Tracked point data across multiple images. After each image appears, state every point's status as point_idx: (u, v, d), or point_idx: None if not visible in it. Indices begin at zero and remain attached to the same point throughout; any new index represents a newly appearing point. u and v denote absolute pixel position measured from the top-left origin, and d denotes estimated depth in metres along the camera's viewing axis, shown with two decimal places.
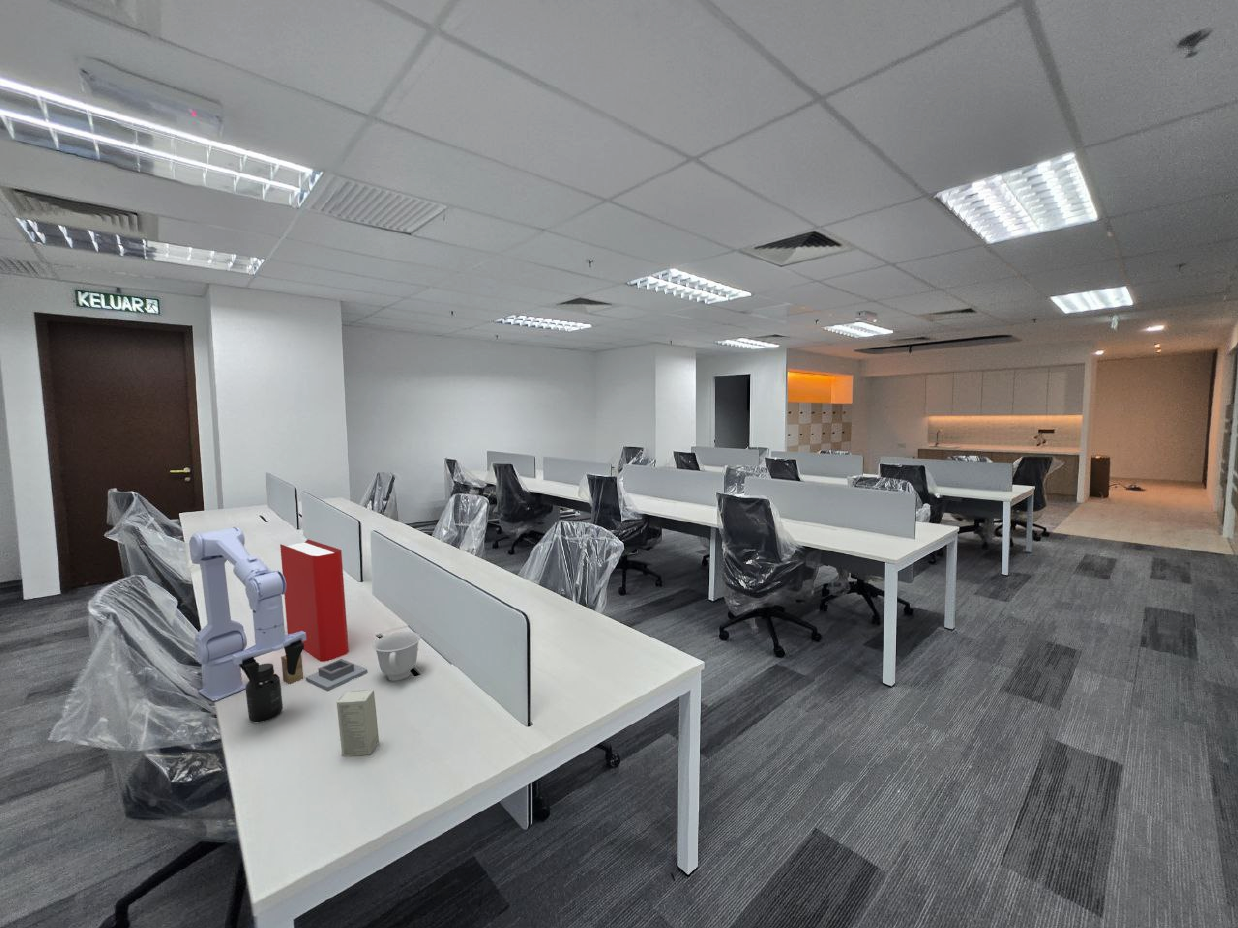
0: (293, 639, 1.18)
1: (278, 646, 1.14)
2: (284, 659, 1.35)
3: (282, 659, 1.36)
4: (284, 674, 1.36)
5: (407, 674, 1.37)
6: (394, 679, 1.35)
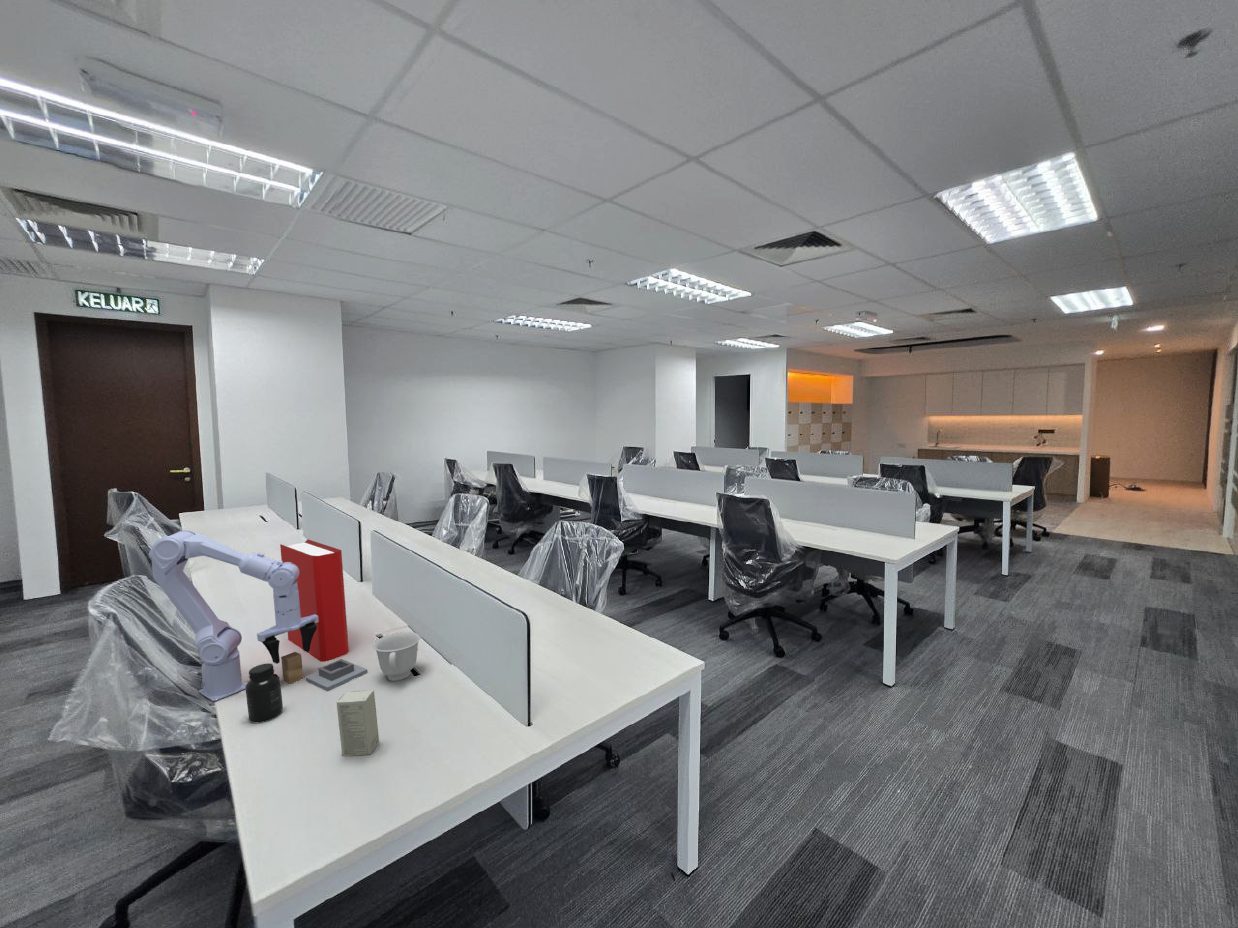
0: (307, 621, 1.38)
1: (295, 626, 1.34)
2: (284, 659, 1.35)
3: (282, 659, 1.36)
4: (284, 674, 1.36)
5: (407, 674, 1.37)
6: (394, 679, 1.35)
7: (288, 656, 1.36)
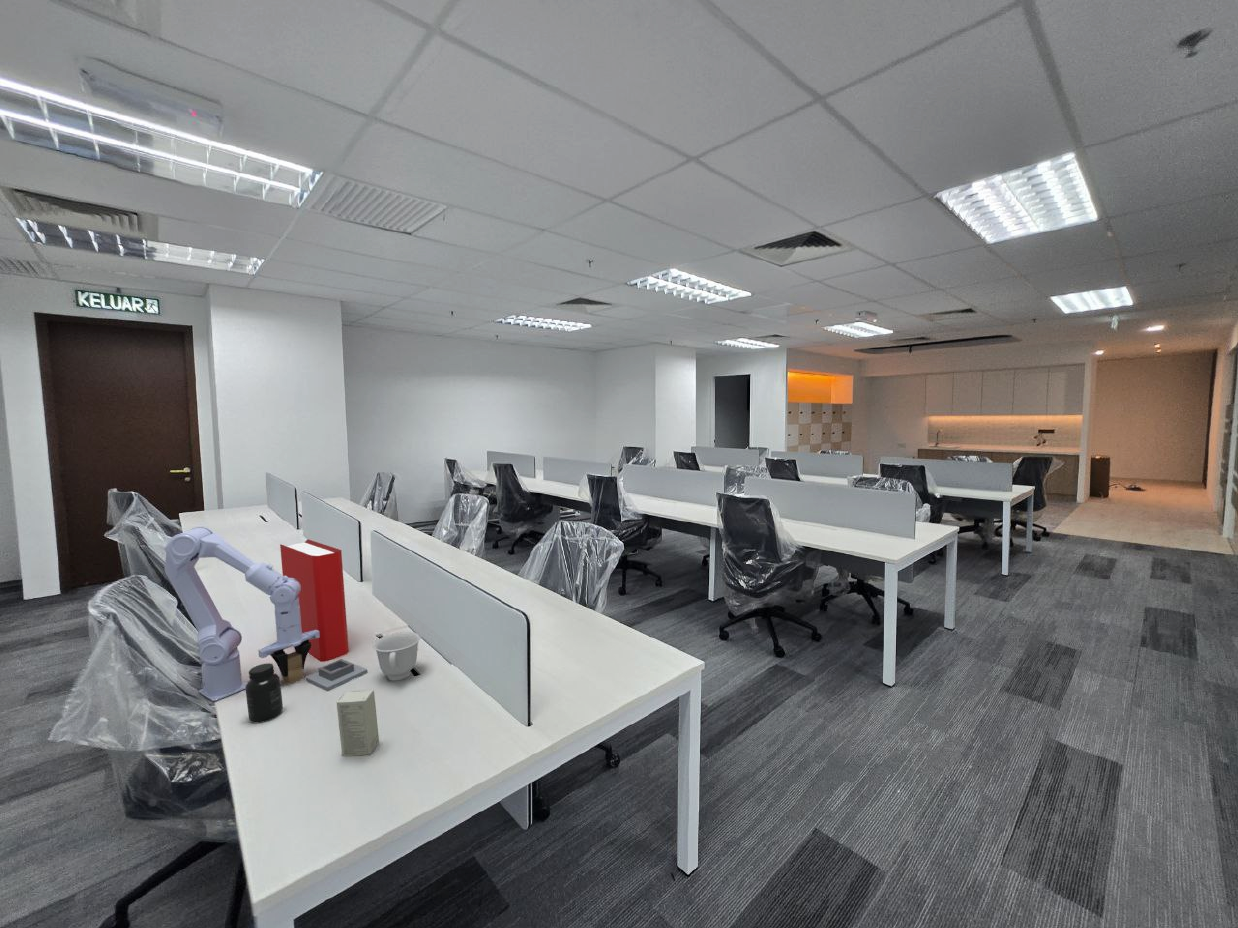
0: (308, 636, 1.39)
1: (296, 642, 1.34)
2: None
3: None
4: None
5: (407, 674, 1.37)
6: (394, 679, 1.35)
7: (288, 656, 1.36)
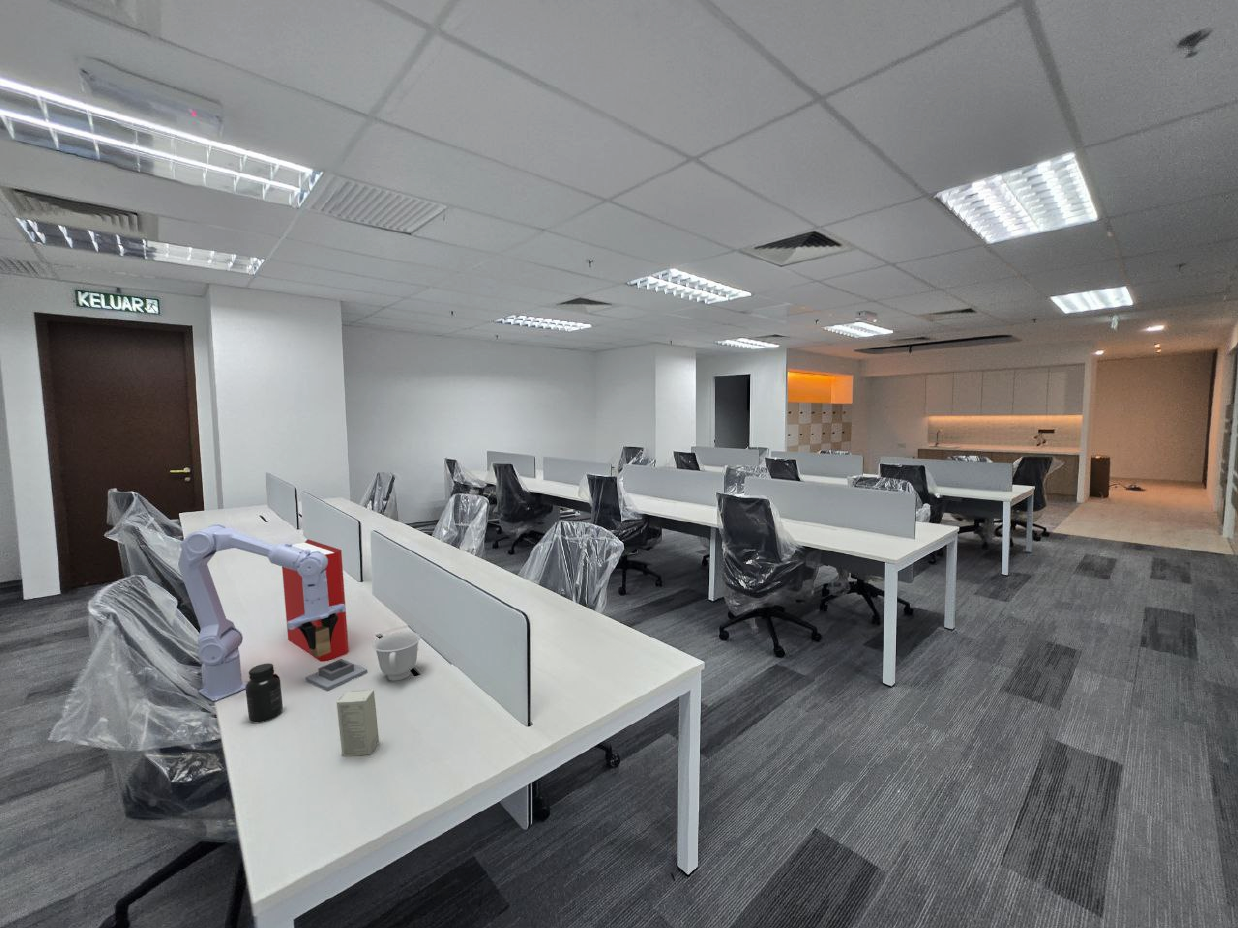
0: (335, 610, 1.39)
1: (324, 615, 1.35)
2: None
3: None
4: None
5: (407, 674, 1.37)
6: (394, 679, 1.35)
7: None
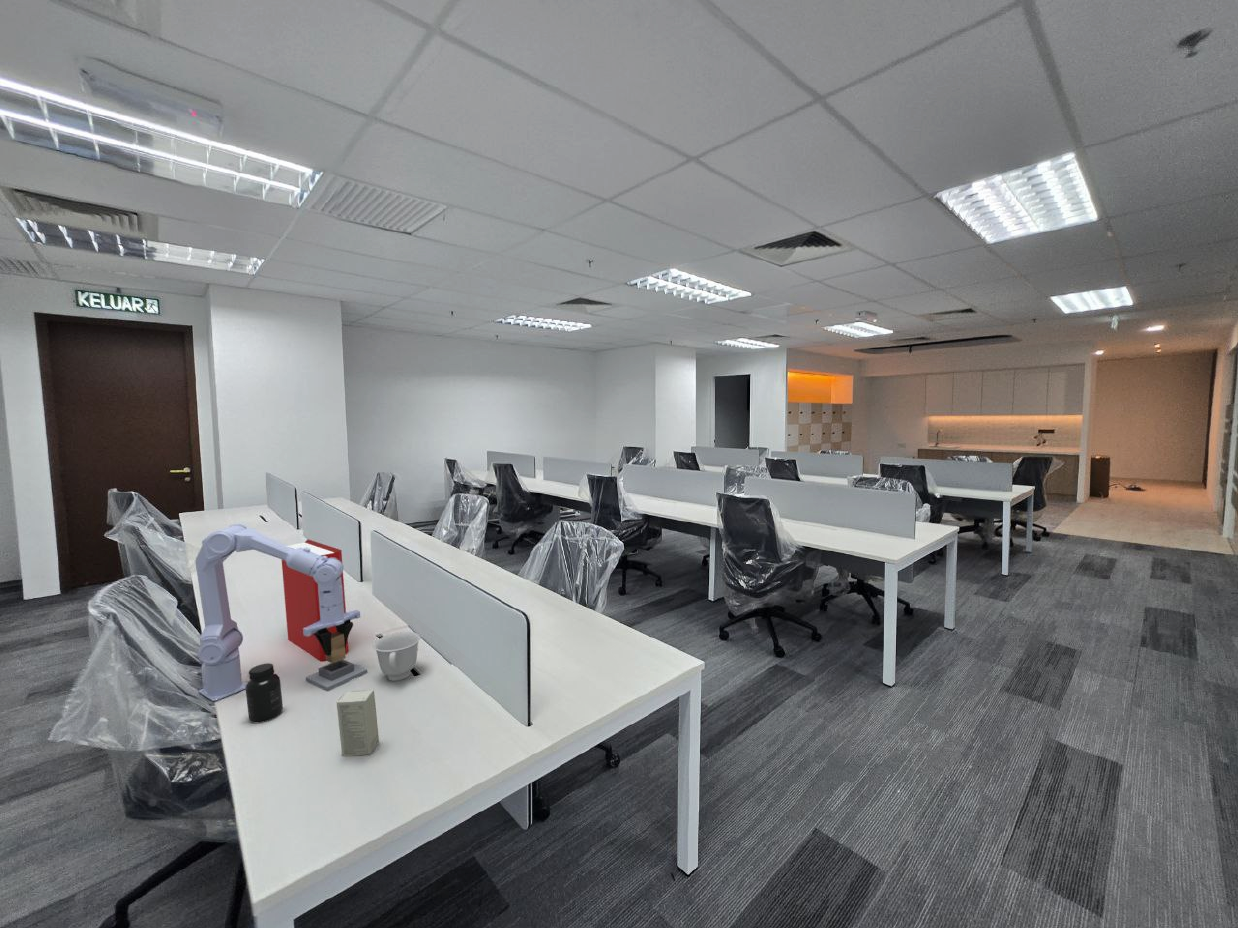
0: (350, 616, 1.40)
1: (339, 621, 1.35)
2: None
3: None
4: None
5: (407, 674, 1.37)
6: (394, 679, 1.35)
7: (331, 636, 1.37)
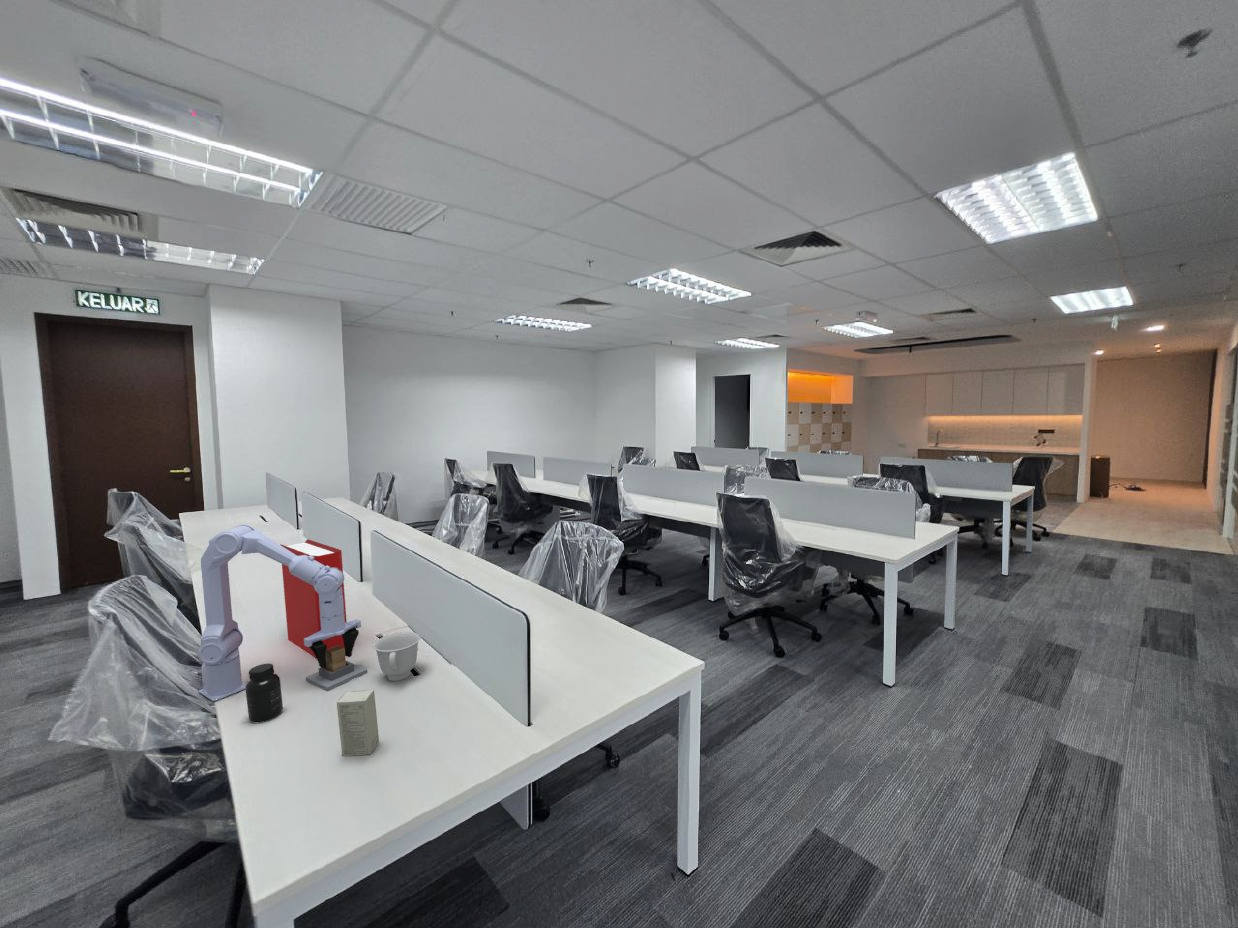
0: (351, 626, 1.40)
1: (340, 631, 1.35)
2: (328, 652, 1.36)
3: (326, 652, 1.37)
4: (328, 667, 1.37)
5: (407, 674, 1.37)
6: (394, 679, 1.35)
7: (332, 650, 1.37)
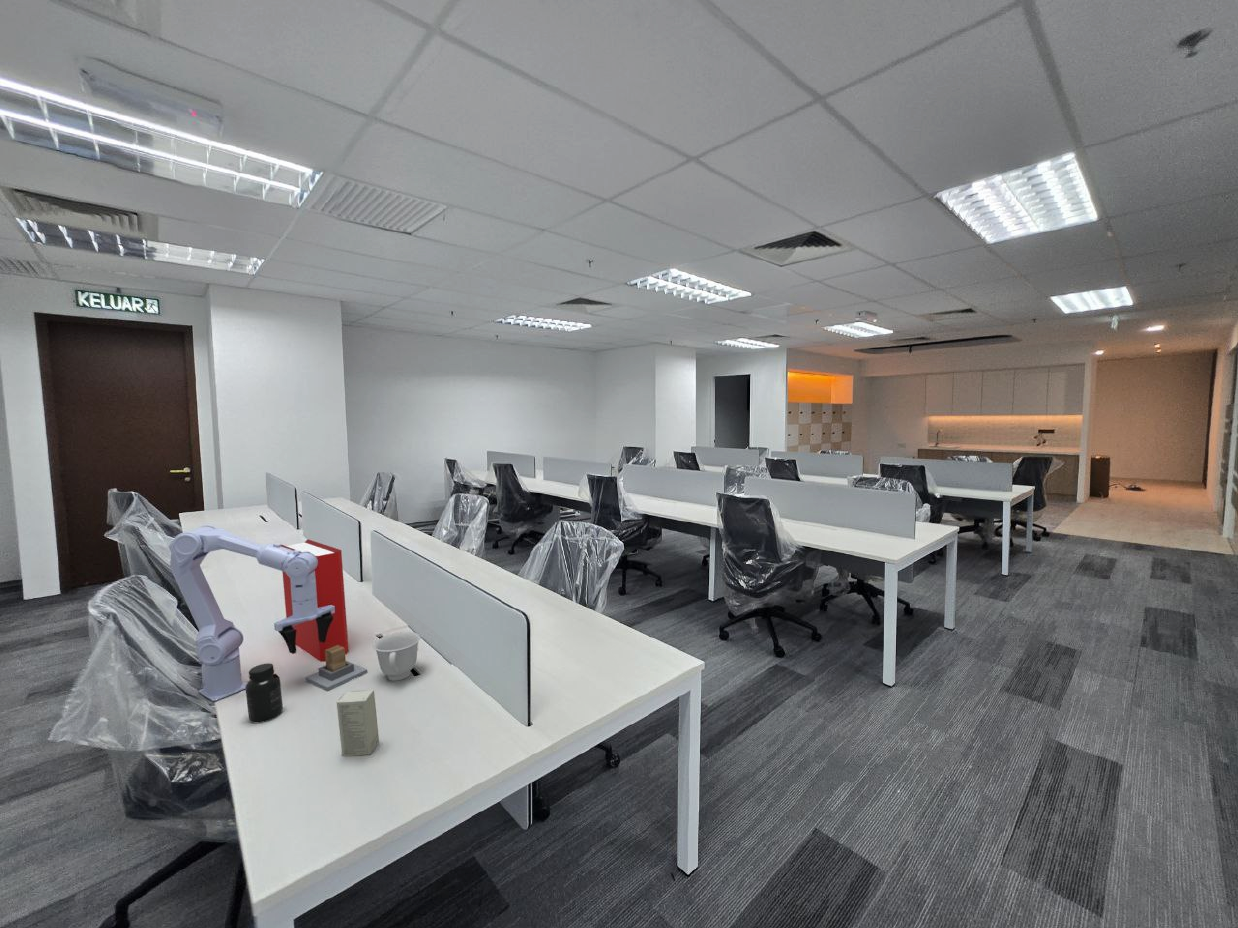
0: (324, 611, 1.37)
1: (312, 616, 1.33)
2: (328, 652, 1.36)
3: (326, 652, 1.37)
4: (328, 667, 1.37)
5: (407, 674, 1.37)
6: (394, 679, 1.35)
7: (332, 650, 1.37)
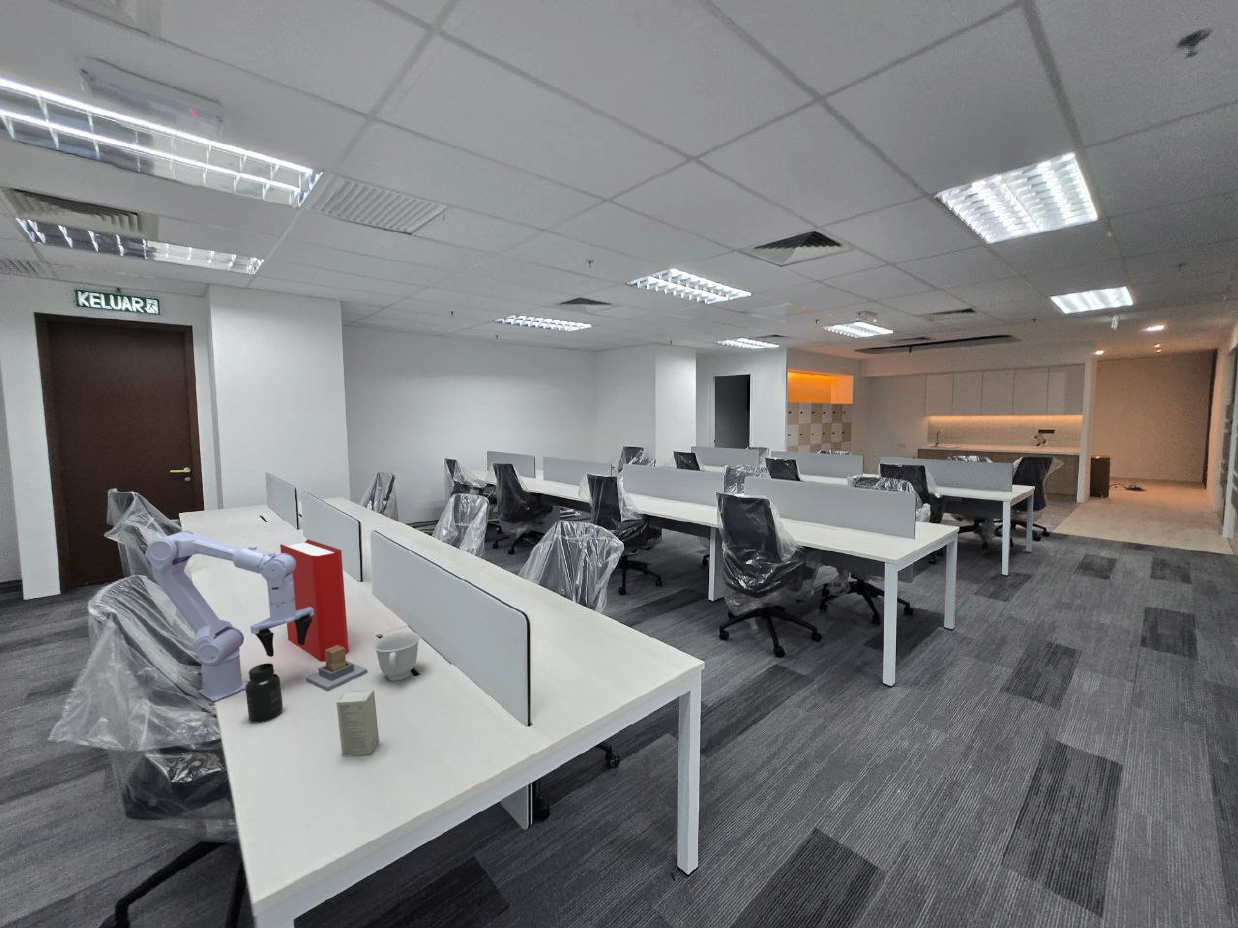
0: (302, 613, 1.35)
1: (290, 619, 1.31)
2: (328, 652, 1.36)
3: (326, 652, 1.37)
4: (328, 667, 1.37)
5: (407, 674, 1.37)
6: (394, 679, 1.35)
7: (332, 650, 1.37)
